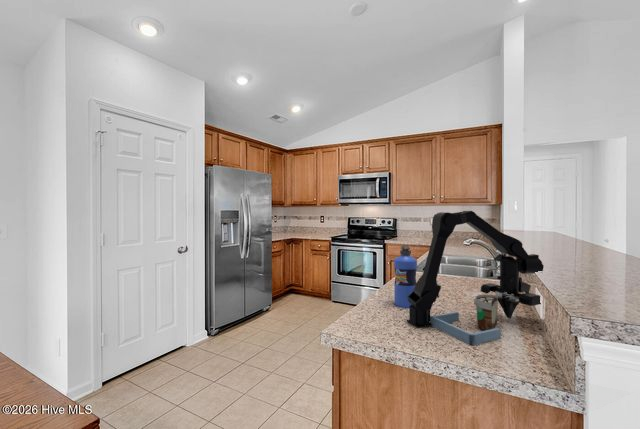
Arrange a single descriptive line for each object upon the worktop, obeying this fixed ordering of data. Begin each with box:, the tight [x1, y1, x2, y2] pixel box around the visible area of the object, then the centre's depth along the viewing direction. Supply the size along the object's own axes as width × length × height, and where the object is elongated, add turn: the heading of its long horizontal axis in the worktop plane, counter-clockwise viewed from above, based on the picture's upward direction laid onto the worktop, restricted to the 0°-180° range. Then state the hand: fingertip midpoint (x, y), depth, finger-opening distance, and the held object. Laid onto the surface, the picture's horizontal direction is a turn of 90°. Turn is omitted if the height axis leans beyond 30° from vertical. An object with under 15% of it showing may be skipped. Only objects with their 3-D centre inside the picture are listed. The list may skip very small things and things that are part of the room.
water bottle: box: [393, 244, 418, 309], centre depth 125 cm, size 9×9×25 cm
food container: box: [473, 294, 499, 331], centre depth 101 cm, size 12×6×10 cm, turn 141°
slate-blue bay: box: [430, 311, 502, 347], centre depth 97 cm, size 12×17×3 cm
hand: (508, 317), depth 105 cm, fingers closed
